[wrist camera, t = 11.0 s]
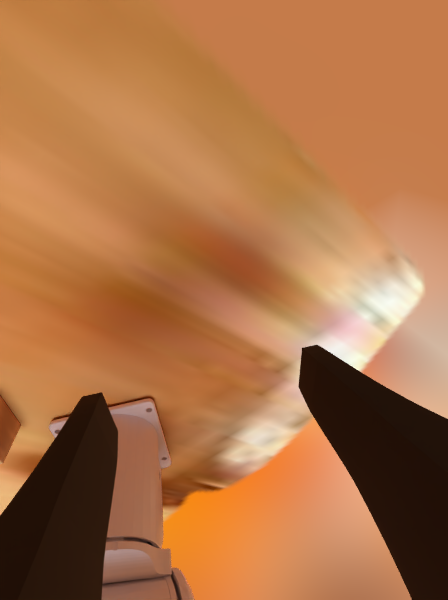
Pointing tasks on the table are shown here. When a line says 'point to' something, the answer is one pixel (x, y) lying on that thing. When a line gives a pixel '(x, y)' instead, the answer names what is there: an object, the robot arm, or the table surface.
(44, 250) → the table surface
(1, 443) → the shelf board
